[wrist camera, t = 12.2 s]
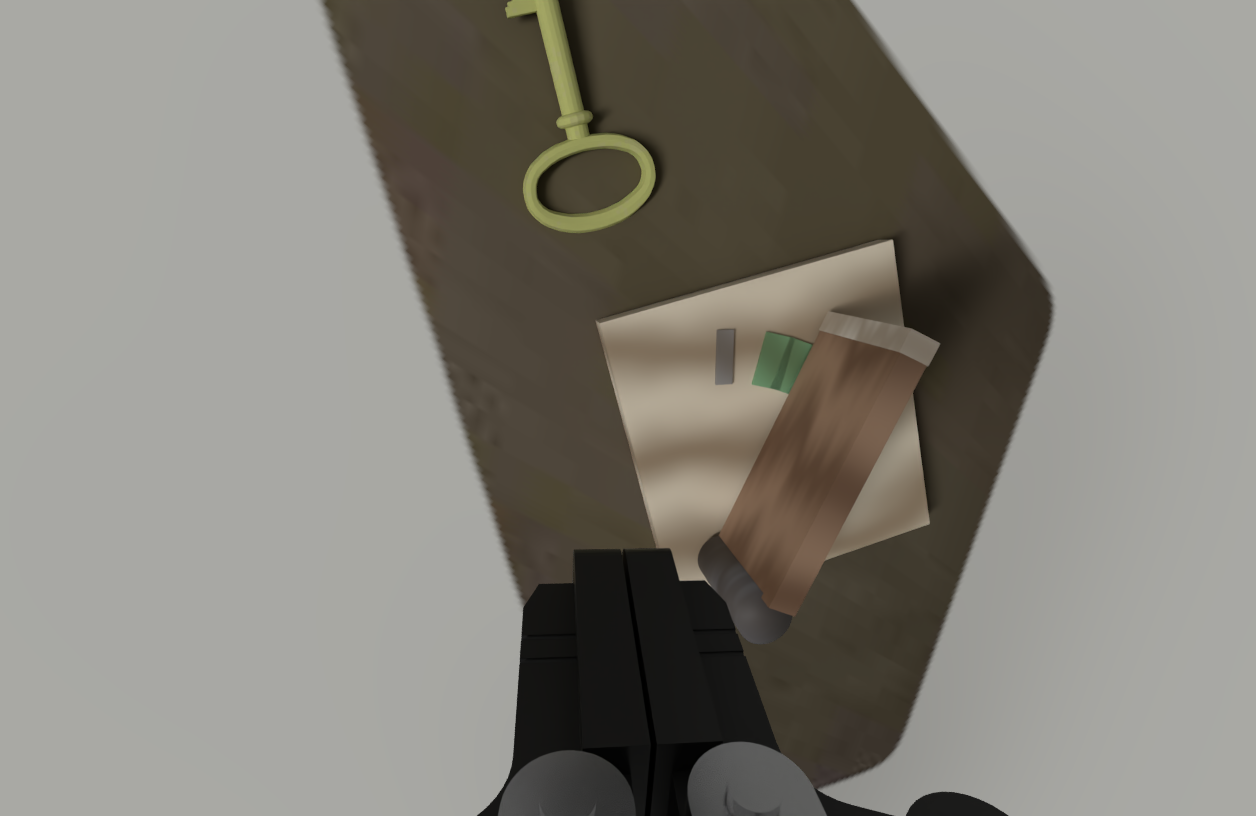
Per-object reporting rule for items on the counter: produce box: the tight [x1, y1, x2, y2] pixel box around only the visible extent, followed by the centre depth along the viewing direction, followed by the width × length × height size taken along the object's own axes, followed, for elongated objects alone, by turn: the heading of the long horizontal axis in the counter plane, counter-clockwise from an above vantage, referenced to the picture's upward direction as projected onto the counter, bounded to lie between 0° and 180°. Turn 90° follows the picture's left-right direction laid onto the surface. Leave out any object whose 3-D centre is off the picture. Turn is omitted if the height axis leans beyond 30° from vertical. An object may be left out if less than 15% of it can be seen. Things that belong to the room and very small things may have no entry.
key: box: [505, 0, 656, 233], centre depth 34 cm, size 7×12×2 cm, turn 33°
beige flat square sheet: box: [596, 240, 930, 585], centre depth 41 cm, size 19×18×2 cm
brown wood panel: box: [698, 311, 940, 644], centre depth 36 cm, size 18×3×8 cm, turn 155°
